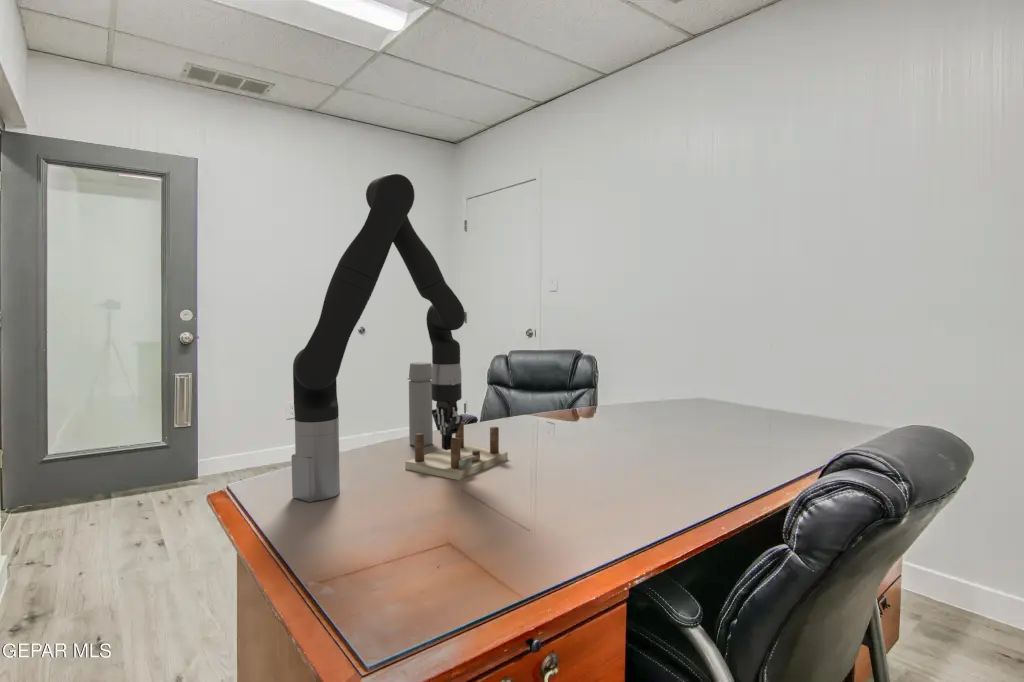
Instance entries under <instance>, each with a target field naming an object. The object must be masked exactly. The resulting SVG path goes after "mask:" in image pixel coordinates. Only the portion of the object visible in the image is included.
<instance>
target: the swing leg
mask: <svg viewBox="0 0 1024 682" xmlns="http://www.w3.org/2000/svg"><path fill="white" fill-rule="evenodd" d="M466 457H472V462H474V461H477V460H479V459H480V451H478V450H474V451H472V454H471V455H468V456H465V457H462V458H461V456H460V438H455V437H452V438H451V467H452V468H459V460H461V459H463V458H466Z"/></svg>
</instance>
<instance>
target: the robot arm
mask: <svg viewBox="0 0 1024 682" xmlns="http://www.w3.org/2000/svg"><path fill="white" fill-rule="evenodd" d="M365 199H366V202H367V205H368V207H369V212H368V215H367V218H366V220H365V222H364V224H363V226H362V228H361V229H360V230H359V232H358V234H357V235H356V236H355V237H354V238H353V240H352V241H351V242H350V244H349V245H348V247H347V248H346V250H345V251H344V252H343V254H342V256H341V257H340V258H339V261H338V263H337V265H336V267H335V269H334V272H333V274H332V277H331V279H330V282H329V284H328V286H327V290H326V293H325V296H324V300H323V303H322V308H321V312H320V315H319V319H318V321H317V324H316V327H315V329H314V331H313V332H312V334H311V336H310V337H309V340H308V341H307V344H306V345H305V347H304V348H303V349H301V350H300V351H299V352H298V353H297V354H296V356H295V357H294V360H293V364H292V380H293V381H292V383H293V385H292V386H293V409H294V410H293V411H294V439H295V440H294V444H295V446H294V447H295V449H294V451H295V452H294V454H291V490H292V492H291V493H292V498H294V499H297V500H301V501H305V502H308V503H312V502H314V501H322V500H328V499H331V498H334V497H336V496H338V495H340V492H341V480H340V478H341V477H340V475H341V474H340V472H341V471H340V427H339V425H340V423H339V421H340V420H339V403H338V402H339V401H338V392H337V387H338V386H337V378H338V375H339V372H340V369H341V365H342V363H343V360H344V359H343V358H344V356H345V352H346V349H347V347H348V343H349V340H350V338H351V335H352V333H353V331H354V329H355V328H356V326H357V324H358V322H359V320H360V319H361V316H362V315H363V313H364V311H365V308H366V306H367V305H368V302H369V301H370V298H371V297H372V295H373V292H374V289H375V287H376V285H377V283H378V280H379V277H380V274H381V272H382V270H383V267H384V265H385V263H386V260H387V258H388V255H389V252H390V250H391V247H392V245H394V246H395V248H396V250H397V251H398V253H399V255H400V257H401V259H402V261H403V262H404V264H405V267H406V269H407V271H408V273H409V275H410V276H411V279H412V282H413V283H414V286H415V288H416V289H417V291H418V293H419V294H420V296H421V298H423V299H425V300H427V301H429V302H430V303H431V305H430V306H429V307H428V309H427V312H426V318H425V319H426V328H427V332H428V337H429V341H430V343H431V351H432V352H431V355H432V356H431V357H432V359H431V360H432V362H431V365H432V372H431V387H432V402H433V401H434V402H436V404H435V407H436V408H435V409H434V408H433V409H432V419H433V420H434V423H435V424H434V425H435V427H436V429H437V431H439V432H440V433H439V434H440V435H441V449H444V450H450V449H451V438H453V435H455V433H457V431H458V429H459V427H460V424H461V422H463V419H464V418H463V417H464V416H463V415H459V413H458V409H459V408H458V405H457V404H458V403H457V402H458V401H460V400H461V399H462V398H463V397H462V393H463V391H462V368H461V344H460V343H459V341H457V340H456V339H455V338H454V337H453V333H452V331H457V330H459V329H460V328H462V327H463V325H464V323H465V320H466V312H465V308H464V306H463V304H462V302H461V300H460V299H459V297H458V296H457V295H456V294H455V292H454V291H453V290H452V289H451V287H450V286H449V285H448V283H447V282H446V280H445V278H444V275H443V273H442V271H441V268H440V267H439V265H438V263H437V261H436V258H435V257H434V256H433V254H432V253H431V251H430V250H429V248H428V247H427V246H426V244H425V243H424V242H423V240H422V239H421V238H420V236H419V235H418V234H417V232H416V230H415V229H414V227H413V225H412V223H411V221H410V218H409V216H408V215H409V214H410V211H411V209H412V208H413V206H414V202H415V188H414V186H413V183H412V182H411V181H410V179H409V178H408V177H407V176H406V175H403V174H401V173H389V174H385V175H383V176H379V177H377V178H375V179H373V180H372V181H371V182H370V183H369V184H368V185H367V188H366V190H365Z"/></svg>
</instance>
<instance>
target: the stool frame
mask: <svg viewBox="0 0 1024 682" xmlns="http://www.w3.org/2000/svg"><path fill="white" fill-rule="evenodd" d="M464 425H465V422H464V421H462V422H461V424H460V427H459V429H458V431H457V433H454V435H455V437H454V438H460V456H461V458H462V457H465V456H468V455H471V454H472V451H474V450H478V451H480V459H479V460H477V461H474V462H472V457H466V458H463V459H461V460H459V468H452V467H451V449H450V450H444V449H442V448H440V449H439V450H436V451H432V452H429V453H427V454H425V446H424V434H423V433H417V434H415V446H414V458H412V459H409V460H406V461H404V462H405V467H404V469H405V470H408V471H413V472H418V473H422V474H428V475H431V476H437V477H442V478H446V479H451V480H457V481H460V480H463V479H465V478H467V477H470V476H472V475H474V474H476V473H479V472H481V471H483V470H486V469H488V468H490V467H493V466H495V465H498V464H500V463H503V462H505V461H507V460H508V458H509V457H508V454H509V453H508V451H502V450H500V449H499V447H500V446H499V445H500V444H499V443H500V441H499V437H500V436H499V433H500V431H499V428H500V427H499V426H491V427H489V448H484V447H478V446H471V445H467V444H465V440H464V439H465V427H464Z"/></svg>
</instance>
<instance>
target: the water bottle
mask: <svg viewBox="0 0 1024 682" xmlns="http://www.w3.org/2000/svg"><path fill="white" fill-rule="evenodd" d="M431 372H432V362H429V361H426V362H425V361H421V362H420V361H419V362H410V363H409V371H408V378H407V380H408V410H409V411H408V413H409V415H408V418H409V419H408V422H409V423H408V425H409V430H408V431H409V445H411V446H414V447H415V434H417V433H423V434H424V447H427V445H428V446H430V445H431V444H432V443H433V440H434V439H433V414H432V410H433V400H432V387H431Z"/></svg>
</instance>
